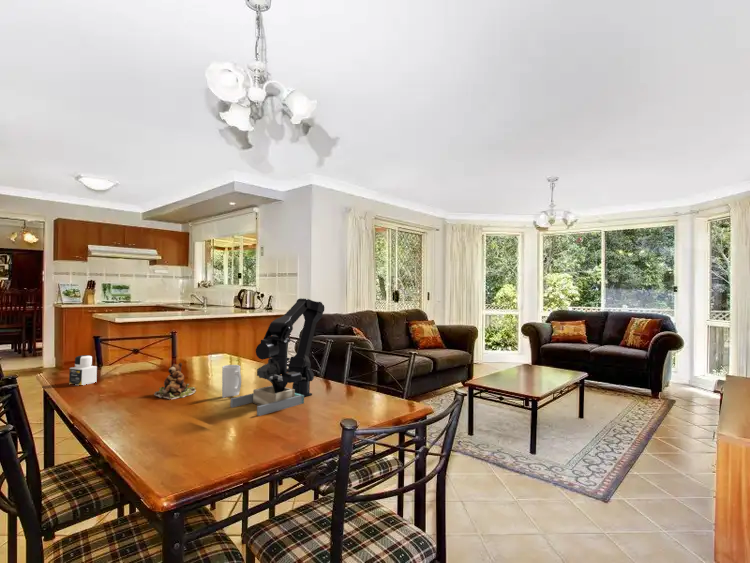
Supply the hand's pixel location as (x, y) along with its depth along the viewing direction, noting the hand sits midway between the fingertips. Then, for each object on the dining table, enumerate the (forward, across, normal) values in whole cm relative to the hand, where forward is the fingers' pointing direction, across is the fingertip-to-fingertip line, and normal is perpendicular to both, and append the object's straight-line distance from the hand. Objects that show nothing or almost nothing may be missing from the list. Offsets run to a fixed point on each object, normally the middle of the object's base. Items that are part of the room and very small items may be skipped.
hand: (278, 397), depth 153 cm
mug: (+3, -21, -5) cm, 22 cm away
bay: (+3, 0, -5) cm, 6 cm away
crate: (+2, 0, -2) cm, 3 cm away
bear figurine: (+3, -43, -17) cm, 46 cm away
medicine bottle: (+3, -89, -33) cm, 95 cm away
